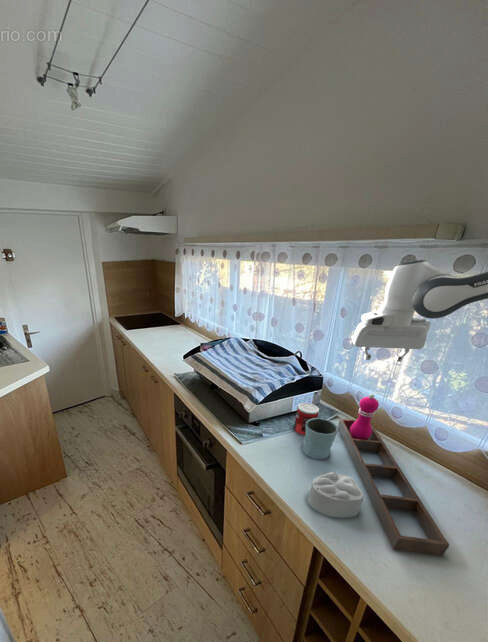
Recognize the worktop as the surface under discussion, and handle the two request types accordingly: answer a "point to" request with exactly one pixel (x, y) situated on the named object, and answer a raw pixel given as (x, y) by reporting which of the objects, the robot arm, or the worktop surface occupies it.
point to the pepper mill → (364, 418)
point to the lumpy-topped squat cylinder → (335, 495)
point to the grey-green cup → (319, 437)
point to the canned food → (304, 416)
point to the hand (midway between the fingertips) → (382, 360)
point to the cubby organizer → (382, 503)
